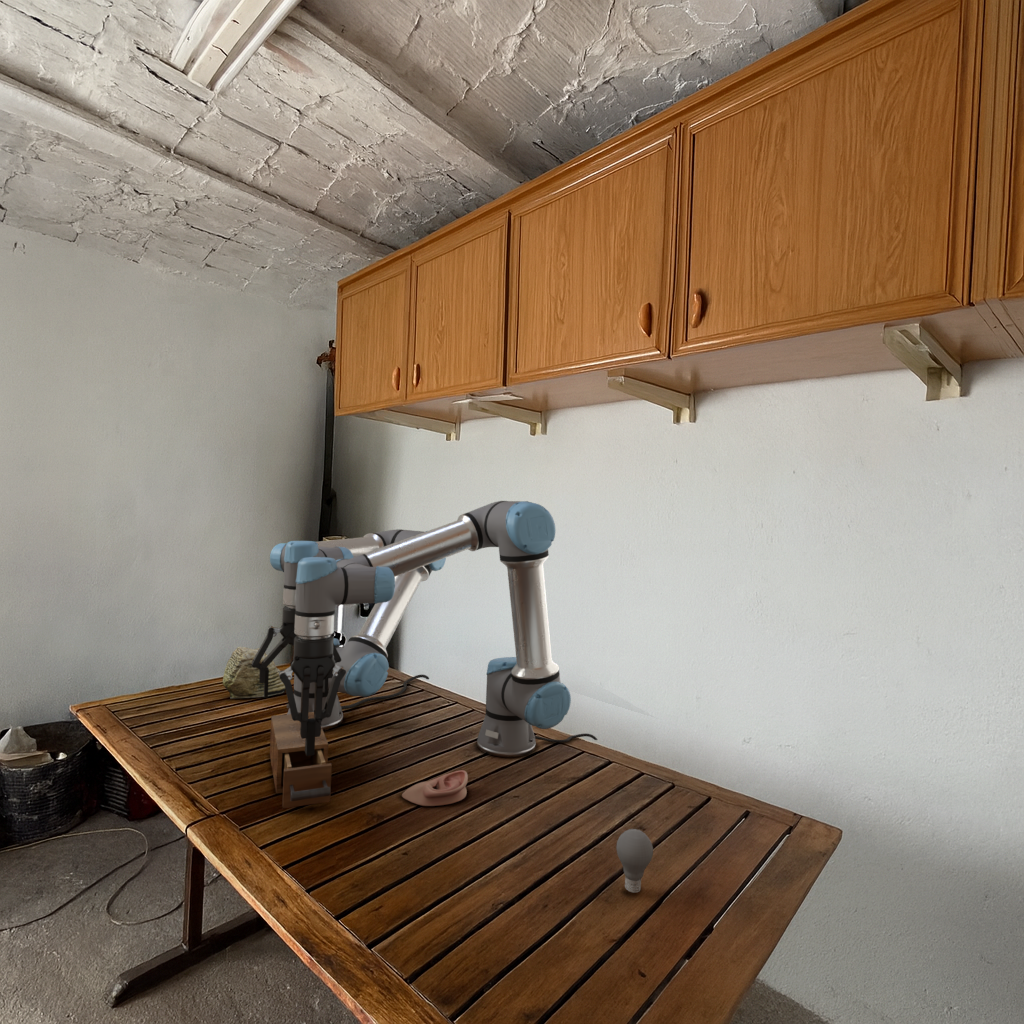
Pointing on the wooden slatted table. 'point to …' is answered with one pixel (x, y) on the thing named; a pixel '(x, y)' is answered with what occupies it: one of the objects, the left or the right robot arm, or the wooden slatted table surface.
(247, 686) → the fossil
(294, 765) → the drawer
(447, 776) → the anatomical model
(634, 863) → the light bulb
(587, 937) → the wooden slatted table surface
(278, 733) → the cabinet
